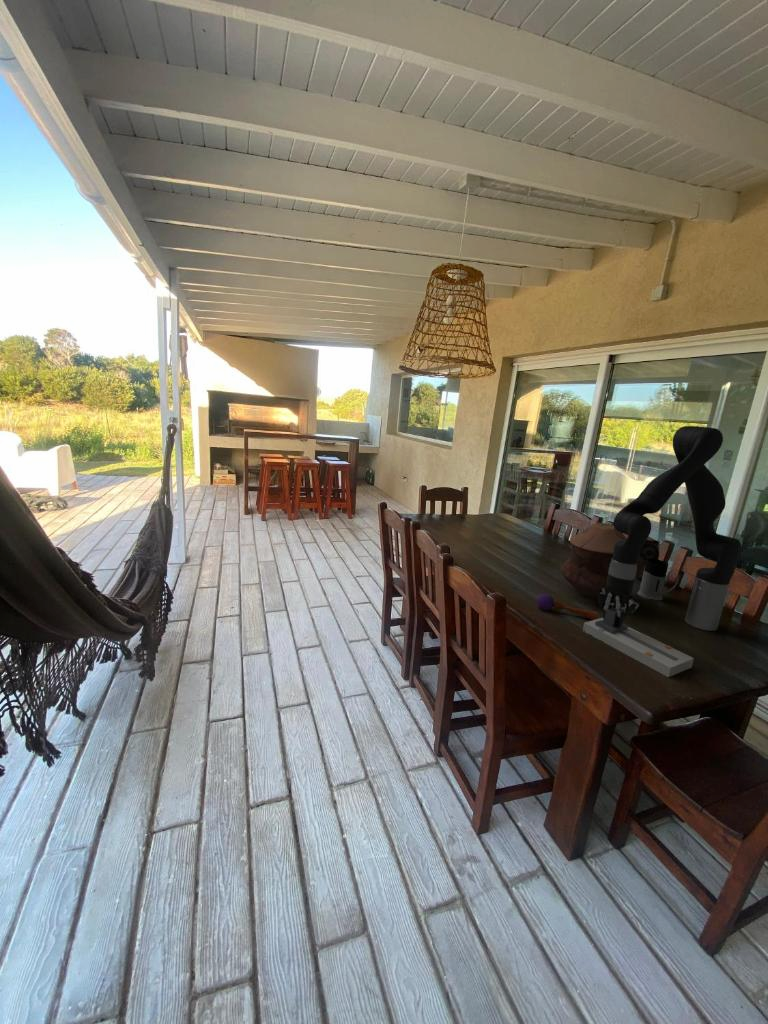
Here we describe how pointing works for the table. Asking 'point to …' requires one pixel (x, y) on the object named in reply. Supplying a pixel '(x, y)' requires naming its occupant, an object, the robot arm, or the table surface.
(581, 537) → the pottery vessel
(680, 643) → the table surface
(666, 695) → the table surface
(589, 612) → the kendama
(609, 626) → the fader tab
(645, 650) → the slider console
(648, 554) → the owl
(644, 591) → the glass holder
